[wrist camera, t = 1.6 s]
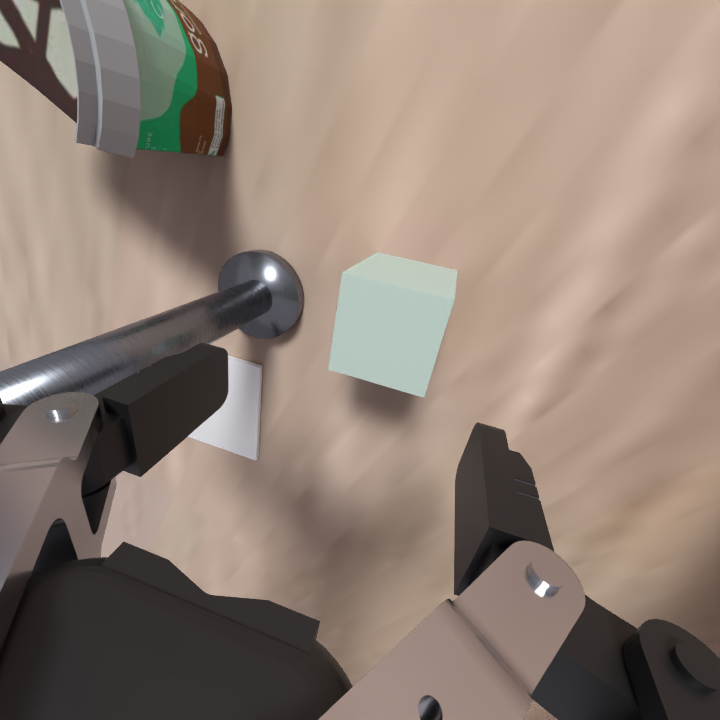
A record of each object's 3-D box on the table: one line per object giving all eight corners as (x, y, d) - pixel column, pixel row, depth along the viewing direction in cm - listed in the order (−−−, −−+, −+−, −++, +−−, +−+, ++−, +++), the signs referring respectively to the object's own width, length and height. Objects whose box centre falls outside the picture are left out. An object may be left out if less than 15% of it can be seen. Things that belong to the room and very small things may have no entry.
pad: (262, 365, 27) (259, 367, 27) (258, 458, 32) (256, 460, 31) (156, 333, 29) (152, 335, 28) (167, 425, 33) (163, 428, 33)
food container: (290, 69, 18) (133, -50, 10) (241, 172, 21) (87, 152, 13) (106, -100, 18) (-250, -399, 9) (82, 32, 20) (-202, -94, 12)
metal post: (308, 260, 23) (-231, 463, 5) (300, 341, 25) (-67, 654, 8) (228, 241, 24) (-452, 355, 6) (229, 321, 26) (-238, 558, 9)
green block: (457, 270, 20) (454, 299, 14) (434, 344, 23) (423, 397, 16) (377, 252, 21) (342, 272, 15) (363, 325, 23) (328, 369, 17)
